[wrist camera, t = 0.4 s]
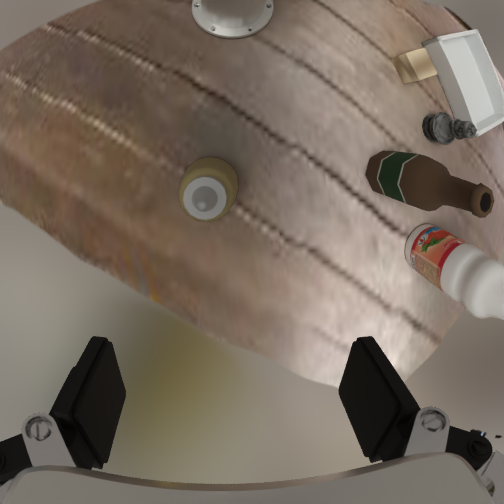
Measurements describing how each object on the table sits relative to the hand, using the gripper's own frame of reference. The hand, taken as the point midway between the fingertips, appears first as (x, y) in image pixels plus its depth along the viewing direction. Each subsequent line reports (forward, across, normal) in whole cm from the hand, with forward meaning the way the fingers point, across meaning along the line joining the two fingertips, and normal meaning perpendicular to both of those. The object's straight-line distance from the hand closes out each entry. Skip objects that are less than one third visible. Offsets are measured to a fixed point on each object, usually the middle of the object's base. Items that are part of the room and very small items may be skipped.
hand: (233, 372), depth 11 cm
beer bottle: (+37, -26, -6) cm, 46 cm away
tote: (+37, -45, -28) cm, 65 cm away
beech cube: (+37, -30, -26) cm, 54 cm away
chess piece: (+37, -36, -16) cm, 54 cm away
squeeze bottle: (+37, +2, -2) cm, 37 cm away
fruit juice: (+37, -38, +7) cm, 53 cm away
